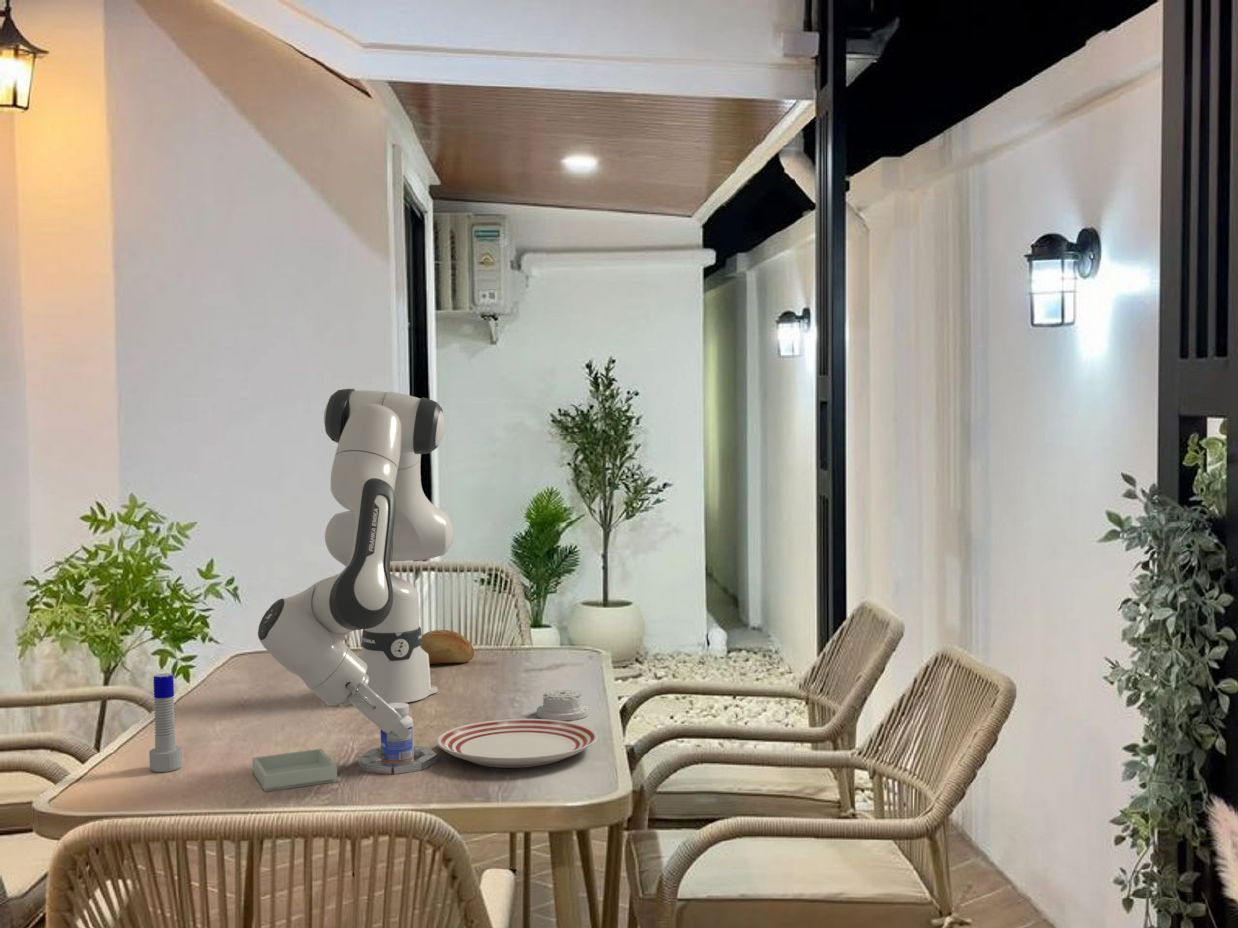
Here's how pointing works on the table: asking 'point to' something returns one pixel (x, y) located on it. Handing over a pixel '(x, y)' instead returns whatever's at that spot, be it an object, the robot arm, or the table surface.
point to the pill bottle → (398, 739)
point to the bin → (294, 770)
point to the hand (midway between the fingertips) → (400, 730)
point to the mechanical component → (562, 706)
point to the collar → (370, 765)
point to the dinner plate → (517, 742)
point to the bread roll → (446, 647)
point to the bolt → (164, 727)
